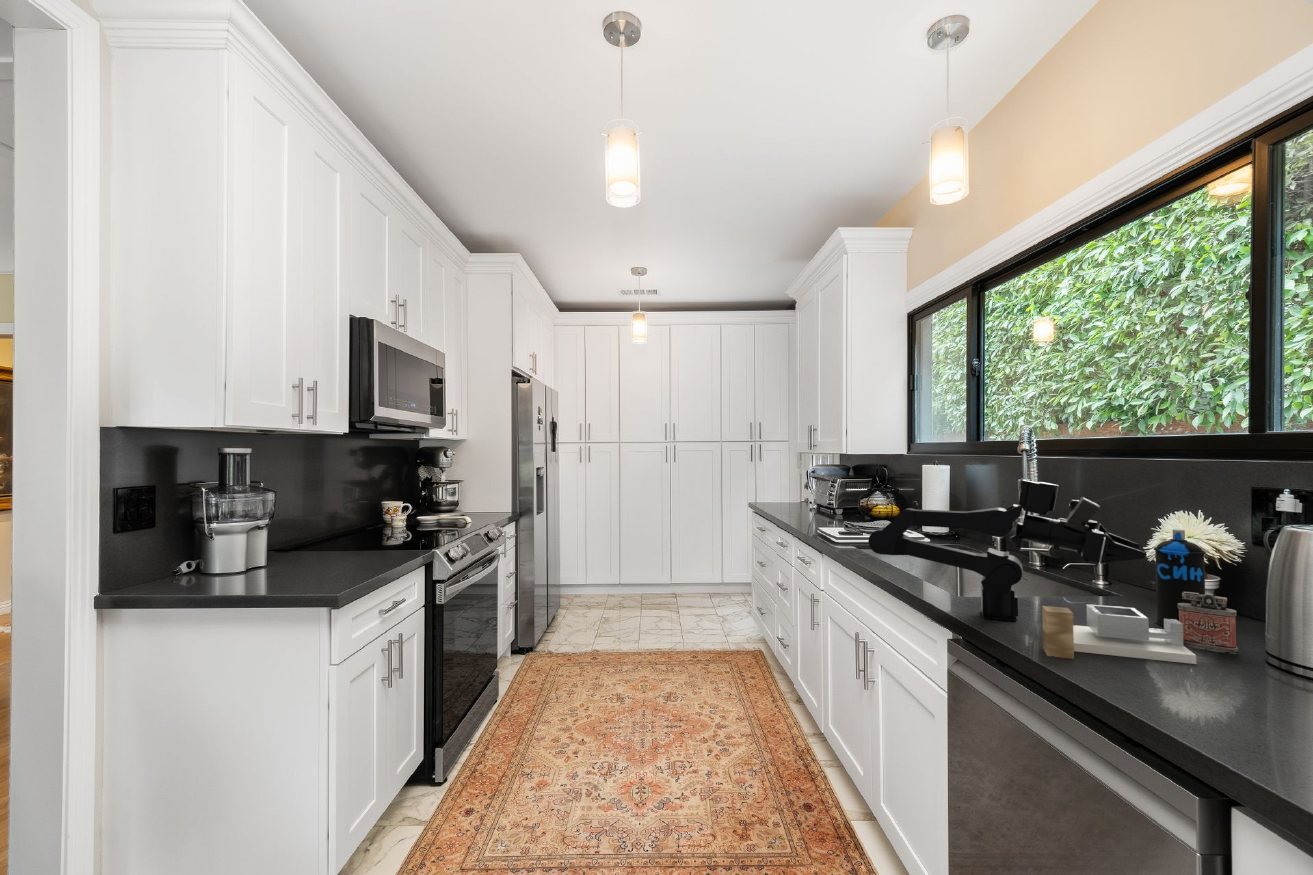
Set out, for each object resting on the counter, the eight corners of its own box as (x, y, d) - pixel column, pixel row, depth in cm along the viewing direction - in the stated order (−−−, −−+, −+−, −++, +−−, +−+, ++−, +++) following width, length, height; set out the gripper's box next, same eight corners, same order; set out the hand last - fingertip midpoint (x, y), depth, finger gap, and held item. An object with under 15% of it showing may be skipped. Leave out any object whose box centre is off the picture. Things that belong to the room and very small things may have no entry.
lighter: (1237, 650, 109) (1235, 595, 110) (1237, 654, 107) (1236, 598, 107) (1178, 640, 115) (1177, 588, 115) (1178, 645, 112) (1176, 591, 113)
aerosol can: (1157, 617, 130) (1155, 526, 130) (1209, 625, 124) (1206, 529, 125) (1153, 626, 124) (1150, 529, 125) (1206, 634, 118) (1203, 533, 119)
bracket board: (1064, 650, 110) (1064, 642, 110) (1050, 630, 122) (1050, 622, 122) (1196, 664, 102) (1196, 655, 102) (1167, 641, 114) (1166, 633, 114)
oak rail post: (1047, 655, 107) (1046, 611, 107) (1043, 648, 111) (1042, 605, 111) (1074, 658, 106) (1073, 613, 106) (1068, 651, 109) (1067, 607, 110)
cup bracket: (1097, 641, 110) (1097, 614, 110) (1087, 629, 117) (1086, 604, 117) (1188, 650, 105) (1188, 621, 105) (1171, 637, 112) (1171, 610, 112)
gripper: (1058, 500, 119) (1159, 518, 110) (1055, 490, 134) (1143, 506, 126) (1048, 554, 120) (1146, 576, 112) (1046, 538, 135) (1132, 556, 127)
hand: (1142, 551), depth 119 cm, fingers open, 9 cm apart
